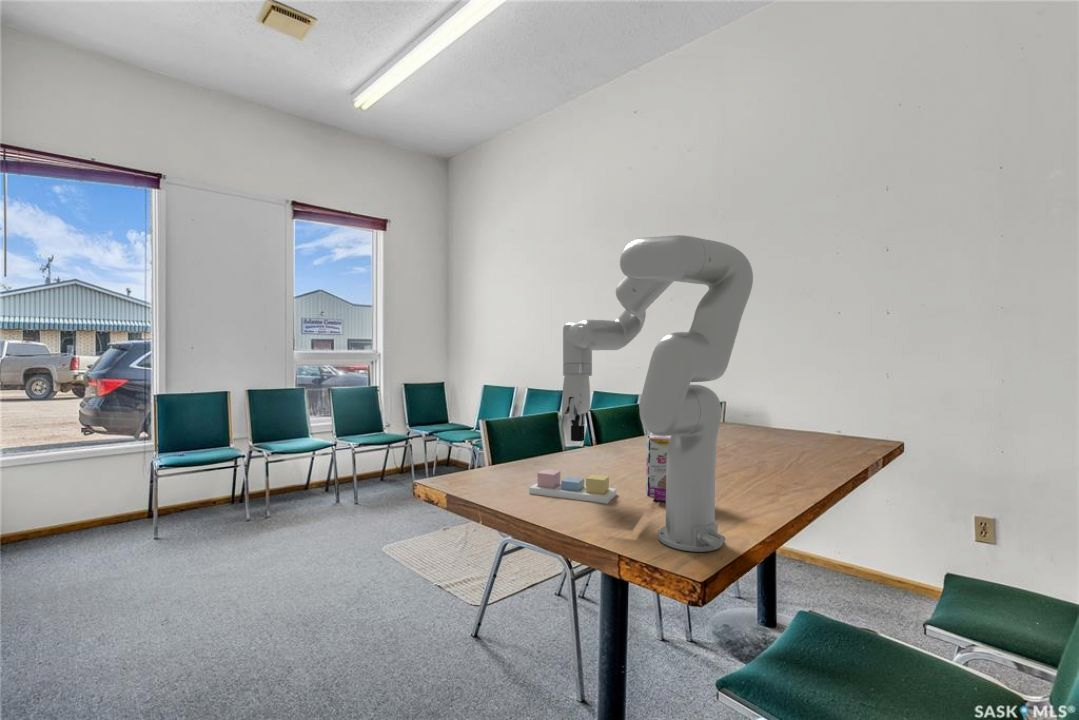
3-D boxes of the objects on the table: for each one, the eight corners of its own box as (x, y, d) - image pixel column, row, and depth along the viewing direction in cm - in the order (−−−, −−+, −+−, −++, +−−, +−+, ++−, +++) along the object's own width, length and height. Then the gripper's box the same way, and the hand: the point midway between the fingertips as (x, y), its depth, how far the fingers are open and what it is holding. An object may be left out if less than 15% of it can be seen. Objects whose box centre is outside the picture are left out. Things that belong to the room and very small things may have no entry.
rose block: (560, 489, 135) (560, 471, 135) (553, 494, 131) (554, 474, 131) (544, 487, 137) (544, 469, 137) (537, 492, 133) (537, 473, 132)
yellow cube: (608, 495, 130) (608, 476, 130) (603, 500, 126) (603, 480, 125) (591, 493, 132) (591, 474, 131) (585, 498, 127) (586, 478, 127)
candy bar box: (647, 502, 129) (648, 438, 129) (645, 496, 134) (645, 434, 134) (692, 504, 128) (693, 439, 128) (688, 498, 133) (689, 435, 133)
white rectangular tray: (616, 500, 131) (616, 488, 131) (607, 509, 123) (607, 497, 123) (541, 490, 139) (541, 480, 139) (529, 499, 131) (529, 487, 131)
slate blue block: (583, 497, 132) (584, 478, 132) (578, 502, 128) (578, 482, 128) (567, 495, 134) (567, 476, 134) (561, 500, 130) (561, 480, 130)
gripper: (572, 369, 141) (573, 435, 141) (553, 370, 127) (554, 444, 127) (599, 369, 138) (599, 437, 138) (582, 370, 124) (583, 446, 124)
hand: (577, 440), depth 132 cm, fingers closed
